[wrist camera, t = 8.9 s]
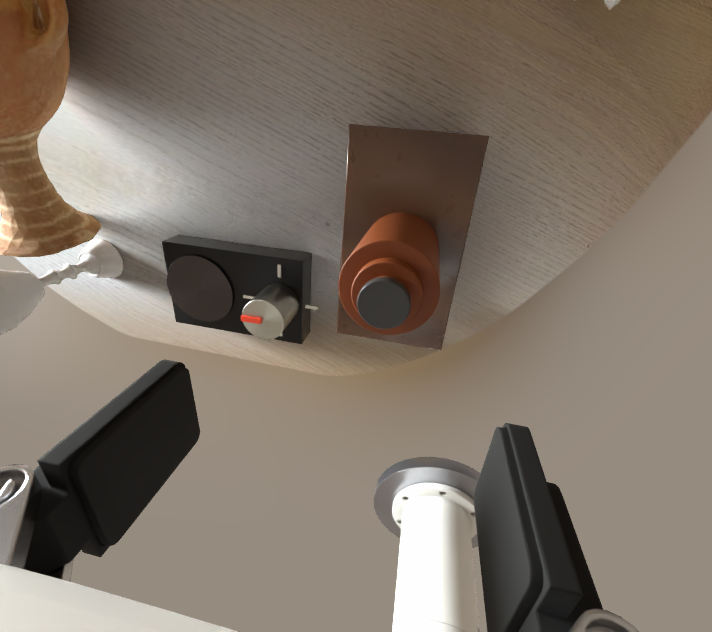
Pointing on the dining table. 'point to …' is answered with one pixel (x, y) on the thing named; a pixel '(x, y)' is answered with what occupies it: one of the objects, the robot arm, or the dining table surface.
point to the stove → (249, 279)
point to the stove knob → (270, 311)
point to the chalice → (52, 281)
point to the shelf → (412, 204)
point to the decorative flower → (610, 3)
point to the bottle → (392, 275)
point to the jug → (33, 130)
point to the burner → (200, 288)
